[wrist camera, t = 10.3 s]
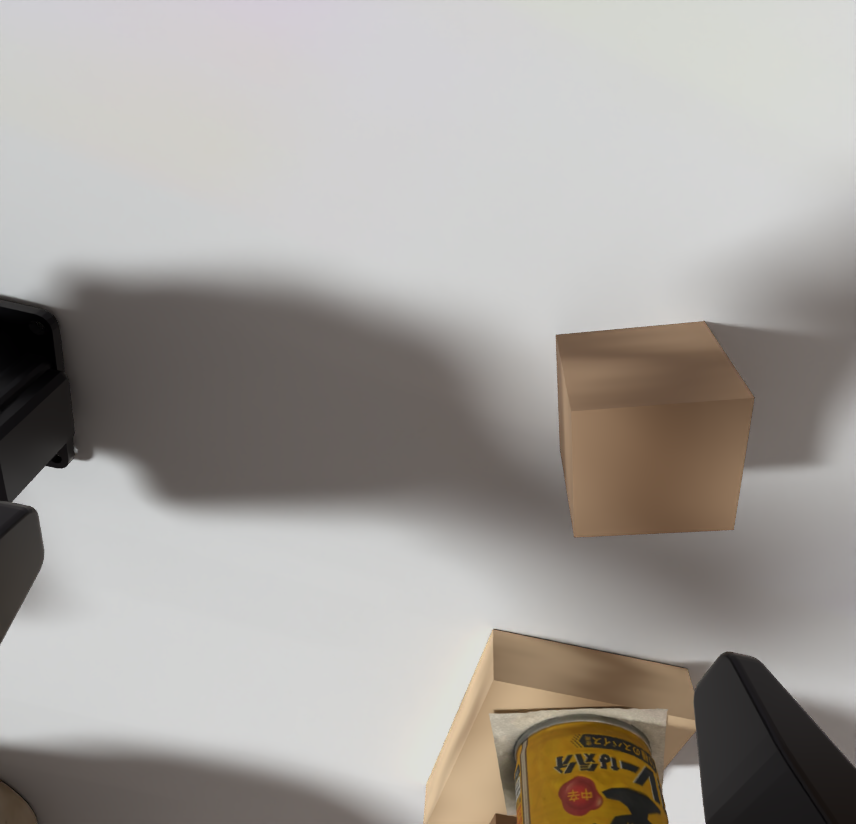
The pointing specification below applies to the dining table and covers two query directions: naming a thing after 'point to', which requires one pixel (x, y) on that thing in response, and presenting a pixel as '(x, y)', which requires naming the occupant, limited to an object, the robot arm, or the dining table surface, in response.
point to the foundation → (533, 691)
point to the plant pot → (14, 807)
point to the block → (651, 430)
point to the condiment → (582, 765)
